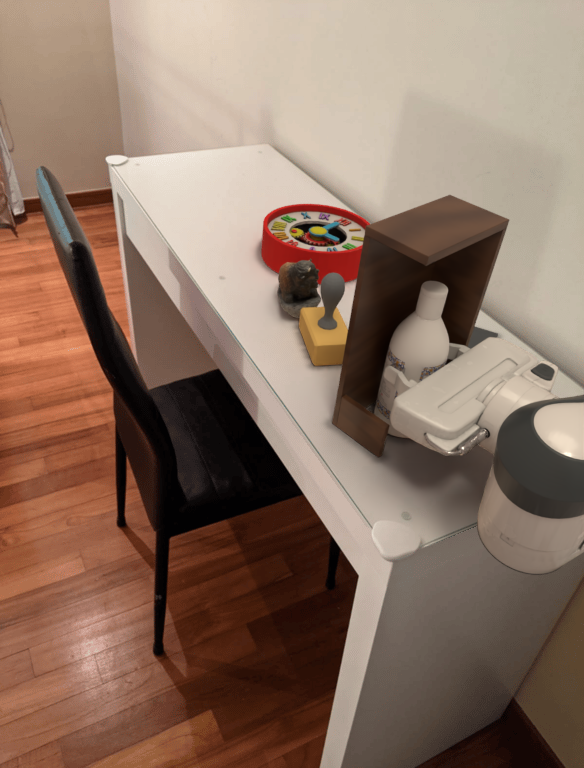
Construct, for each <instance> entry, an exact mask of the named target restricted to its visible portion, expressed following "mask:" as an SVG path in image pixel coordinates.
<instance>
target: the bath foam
mask: <svg viewBox="0 0 584 768" xmlns="http://www.w3.org/2000/svg"><path fill="white" fill-rule="evenodd" d="M447 294H448V288H447V286H446V285H444V284H443V283H440V282H437V281H426V282H424V283H423V284H422V286H421V290H420V294H419V298H418V302H417V306H416V310H415V311H414V312H413V313H412V314H411V315H409V316H408V317H407V318H406V319H404V320H403V321H402V322H401V323H400V324H399V325H398V327H397V328H396V330H395V331H394V333H393V335H392V338H391V341H390V343H389V348H388V352H387V356H386V361H385V365H384V370H383V374H382V378H381V383H380V387H379V391H378V396H377V400H376V402H375V406H374V411H373V414H375V415H376V416H377V417H379V418H380V419H382V420H383V421H385V422H386V423H387V424H389V425H390V426H389V430H388V434H387V435H390V436H392V437H397V438H402V439H406V438H407V439H409V438H408V437H407V436H405V435H403V434H402V433H400V432H399V431H397V430H396V429H394V428H393V427H392V425H391V422H390V413H391V409H392V405H393V402H394V399H395V398H396V397H397V396H399V394H398V392H397V390H396V388H395V386H394V384H392V383H391V382H389V381H388V380H386V379H385V378H384V372H385V368H386V367H388V366H389V365H391V364H393V363H397V364H398V365H400V366H402V367H404V368H405V373H404V376H405V377H406V379H407V380H408V381H409V380H411V379H412V380H414V381H416V382H417V383H419V382H420V381H422V380H423V379H425V378H427V377H428V376H430V375H431V374H433V373H434V372H436V371H437V370H439V369H440V368H442V367H444V366H445V365H446V361H447V358H448V353H449V337H448V333H447V330H446V327H445V325H444V323H443V320H442V318H441V314H442V311H443V308H444V304H445V301H446V297H447Z"/></svg>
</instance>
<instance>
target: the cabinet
mask: <svg viewBox="0 0 584 768" xmlns="http://www.w3.org/2000/svg"><path fill="white" fill-rule="evenodd" d="M509 222H510V219H509V218H507V217H505V216H502V215H500V214H498V213H495V212H493V211H490V210H487V209H485V208H483V207H481V206H479V205H475V204H474V203H471V202H469V201H466V200H463V199H462V198H459V197H456V196H455V195H451V194H448V195H445V196H442V197H440V198H437V199H434V200H431V201H429V202H426V203H424V204H421V205H418V206H416V207H413V208H410V209H407V210H405V211H402V212H400V213H397V214H393V215H391V216H388V217H386V218H384V219H380V220H378V221H375V222H373V223H370V225H367V226H366V229H365V235H364V240H363V246H362V252H361V257H360V263H359V269H358V275H357V279H356V282H355V287H354V292H353V299H352V305H351V310H350V316H349V320H348V321H349V322H348V326H347V329H348V333H347V339H346V345H345V350H344V356H343V362H342V364H341V369H340V375H339V380H338V386H337V390H336V391H337V392H336V399H335V403H334V410H333V415H332V422H331V424H332V425H333V426H335V427H336V428H337V429H339V430H341V431H342V432H344V433H345V434H346V435H347V436H348V437H350V438H351V439H352V440H353V441H355V442H357V443H358V444H359V445H361V446H362V447H363V448H364V449H366V450H367V451H369V452H370V453H371V454H373V456H375V457H376V458H380V457H382V456H383V453H384V449H385V445H386V441H387V438H388V435H389V434H388V430H389V426H390V425H389V424H387V423H386V422H385V421H383V420H382V419H380V418H379V417H377V416H376V415H375V414H374V412H372V411H371V410H370V409H368V407H369V406H371V405H373V404H374V403H376V400H377V396H378V391H379V387H380V383H381V378H382V374H383V370H384V365H385V361H386V356H387V352H388V348H389V343H390V341H391V338H392V335H393V333H394V331H395V330H396V328H397V327H398V325H399V324H400V323H401V322H402V321H403V320H404V319H406V318H407V317H408V316H409V315H411V314H412V313H413V312H414V311H415V310H416V306H417V302H418V298H419V294H420V290H421V286H422V284H423V283H424V282H426V281H437V282H440V283H443V284H444V285H446V286H447V288H448V294H447V297H446V301H445V304H444V308H443V311H442V314H441V318H442V320H443V323H444V325H445V327H446V330H447V333H448V337H449V343H453V344H459V345H465V346H466V347H468V345H469V342H470V338H471V335H472V332H473V329H474V326H475V327H476V323H477V320H478V317H479V314H480V311H481V308H482V305H483V301H484V299H485V297H486V293H487V290H488V287H489V283H490V281H491V278H492V276H493V275H492V274H493V272H494V268H495V265H496V263H497V259H498V257H499V253H500V250H501V248H502V244H503V241H504V239H505V236H506V232H507V229H508V227H509ZM451 361H453V360H451V359H447V361H446V365H447V364H448V363H450V362H451Z"/></svg>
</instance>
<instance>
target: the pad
mask: <svg viewBox="0 0 584 768" xmlns="http://www.w3.org/2000/svg"><path fill="white" fill-rule="evenodd" d="M498 335H499V333H498V332H494V331H491V330H489V329H488V330H487V329H484V328H482V327H477V326H476V325H475V326H474V329H473V332H472V335H471V338H470V342H469V345H468V348H470V349H471V348H473V347H474V346H476V345H478V344H479V343H481V342H482V341H484V340H485V339H487V338H489V337H494V338H498Z"/></svg>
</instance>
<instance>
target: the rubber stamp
mask: <svg viewBox="0 0 584 768" xmlns="http://www.w3.org/2000/svg"><path fill="white" fill-rule="evenodd" d="M319 291H320V297H321V301H322V304H323V306H317V307H307V308H302V309H301V311H300V317H299V319H298V320H299V321H298V329H299V331H300V334H301V336H302V339H303V341H304V344H305V346H306V350H307V352H308V355H309V358H310V360H311V363H312V365H314V366H315V367H318V366H319V367H321V366H336V365H342V362H343V356H344V350H345V345H346V339H347V333H348V326H347V324H346V322H345V321H344V318H343V316H342V314H341V312H340V310H339V308H338V305H339V304H340V302H341V301H342V299H343V297H344V294H345V292H346V282H345V281H344V279H343V277H342V276H341V275H340V274H338V273H329V274H327V275H326V276H325V277H324V278H323V279H322V281H321V284H320V290H319Z"/></svg>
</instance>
